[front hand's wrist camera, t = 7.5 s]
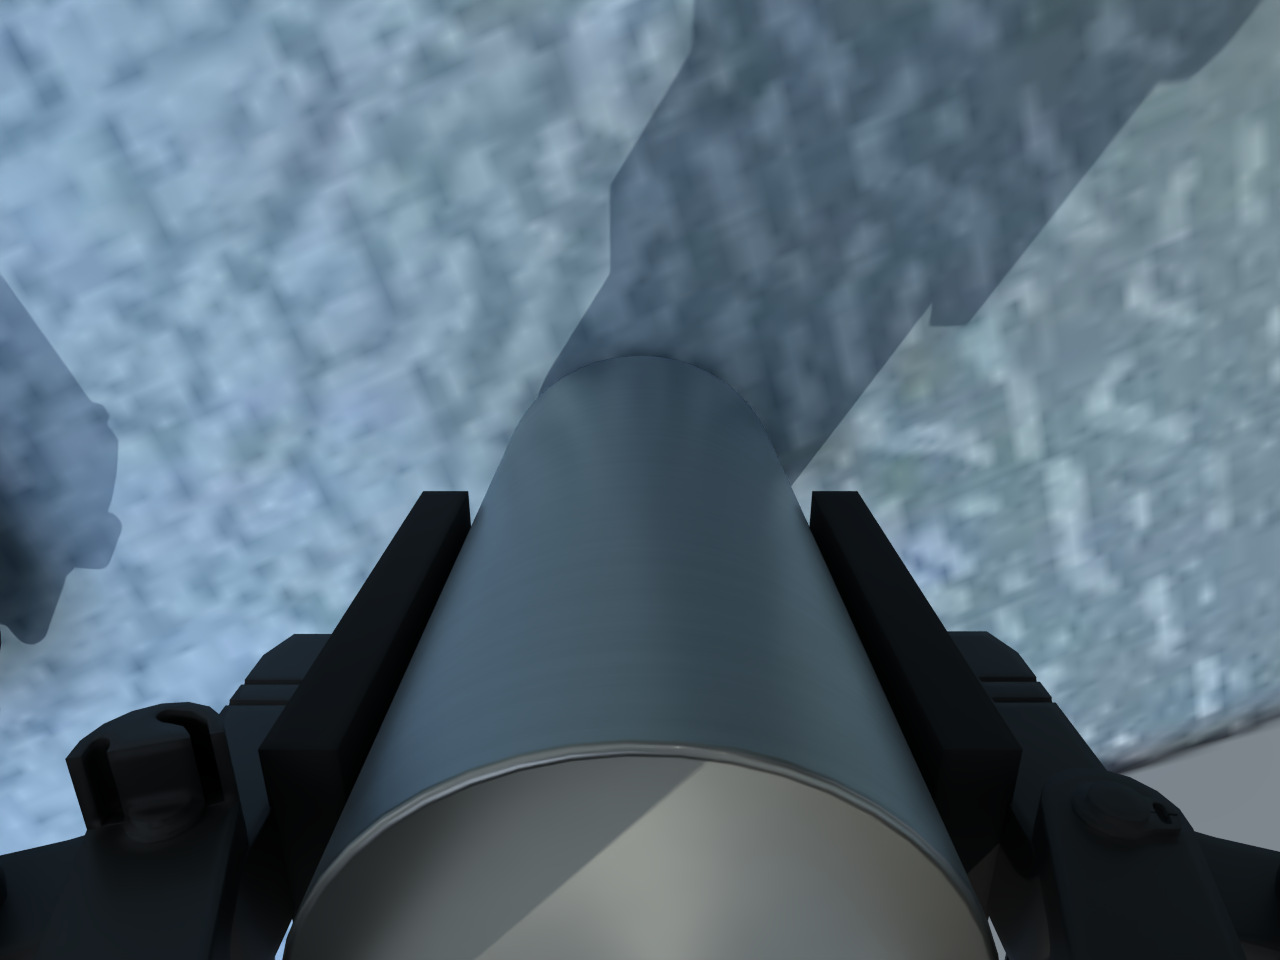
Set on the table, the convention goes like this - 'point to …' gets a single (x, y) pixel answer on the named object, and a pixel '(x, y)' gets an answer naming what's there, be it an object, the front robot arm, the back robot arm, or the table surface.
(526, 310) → the table surface
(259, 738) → the front robot arm
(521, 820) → the tin
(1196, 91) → the table surface
